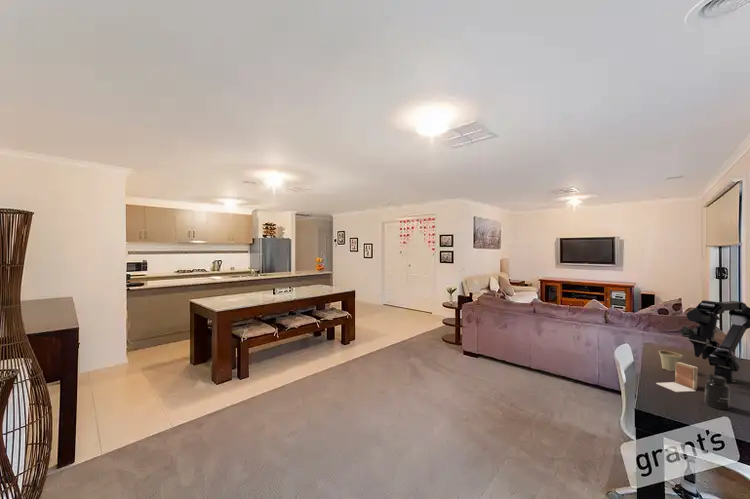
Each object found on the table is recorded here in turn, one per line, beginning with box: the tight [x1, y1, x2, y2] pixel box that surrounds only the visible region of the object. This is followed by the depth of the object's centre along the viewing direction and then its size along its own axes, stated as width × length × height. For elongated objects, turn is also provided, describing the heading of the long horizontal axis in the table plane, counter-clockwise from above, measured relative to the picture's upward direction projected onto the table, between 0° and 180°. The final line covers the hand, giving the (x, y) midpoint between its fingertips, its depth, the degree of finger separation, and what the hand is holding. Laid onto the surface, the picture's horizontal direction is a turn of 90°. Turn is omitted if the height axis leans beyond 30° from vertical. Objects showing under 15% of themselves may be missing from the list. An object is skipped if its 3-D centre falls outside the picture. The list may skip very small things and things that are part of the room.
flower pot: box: [658, 350, 684, 373], centre depth 168 cm, size 9×9×9 cm
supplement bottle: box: [704, 374, 731, 411], centre depth 128 cm, size 7×7×12 cm
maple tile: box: [674, 361, 699, 390], centre depth 147 cm, size 3×7×10 cm, turn 16°
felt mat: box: [655, 381, 697, 393], centre depth 145 cm, size 10×9×1 cm
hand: (700, 358), depth 150 cm, fingers open, 9 cm apart
